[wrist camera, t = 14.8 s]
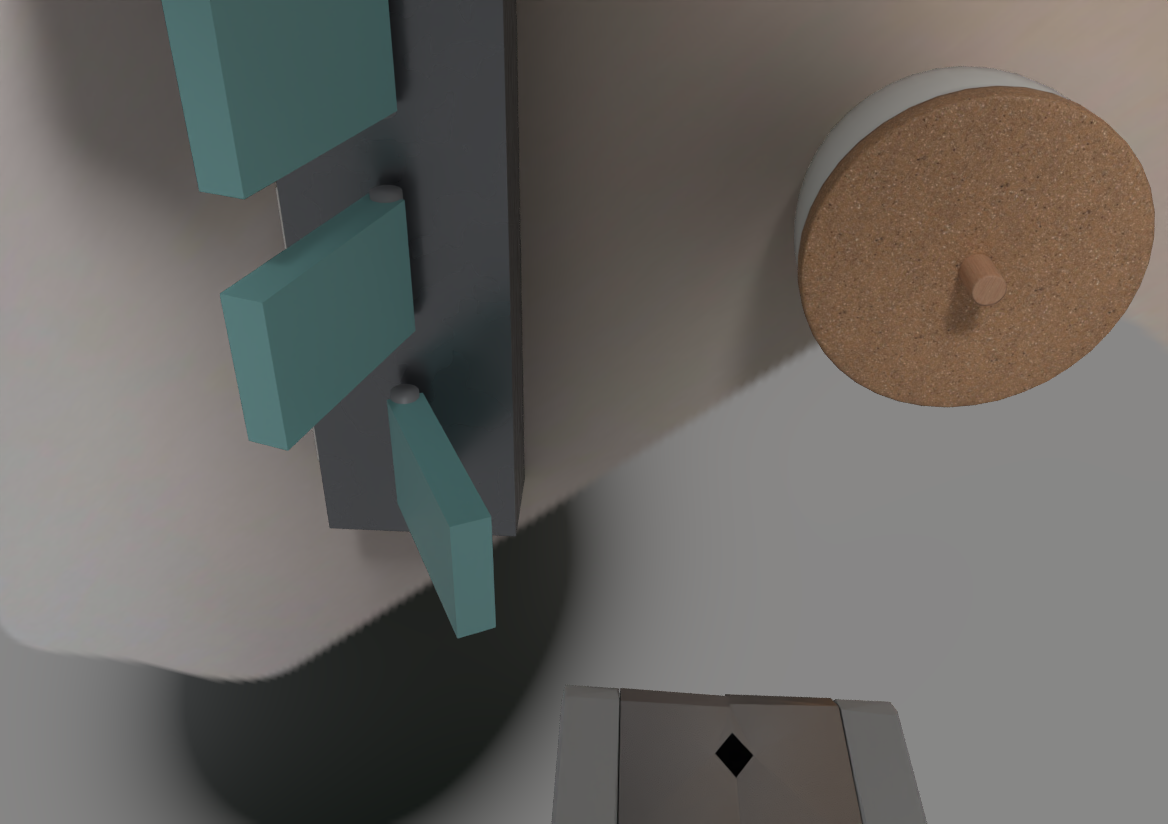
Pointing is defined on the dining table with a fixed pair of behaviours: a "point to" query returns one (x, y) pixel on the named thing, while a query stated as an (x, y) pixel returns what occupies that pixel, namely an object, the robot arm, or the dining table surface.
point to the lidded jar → (968, 236)
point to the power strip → (435, 259)
